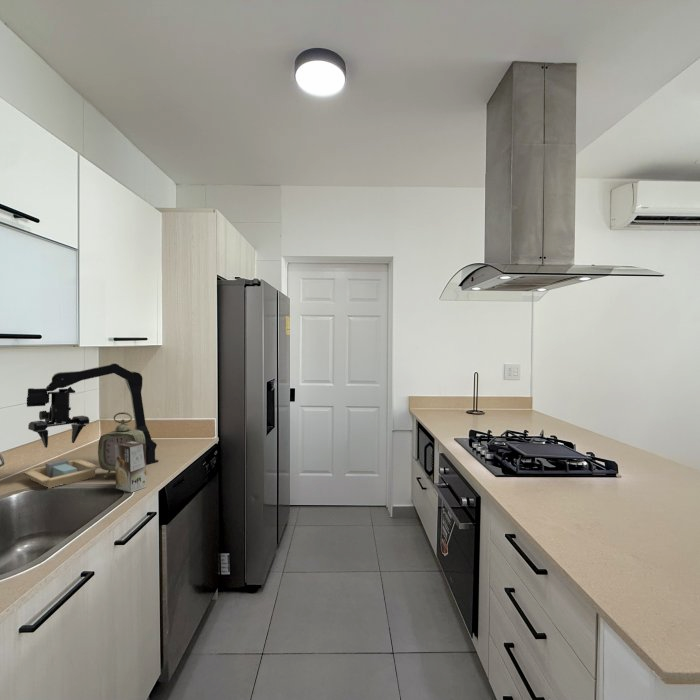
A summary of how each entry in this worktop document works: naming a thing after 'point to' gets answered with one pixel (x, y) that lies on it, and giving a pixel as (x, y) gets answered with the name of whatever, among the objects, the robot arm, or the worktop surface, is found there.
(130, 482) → the coffee box
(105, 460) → the tabletop clock
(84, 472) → the tan shallow rectangular tray
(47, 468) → the box
